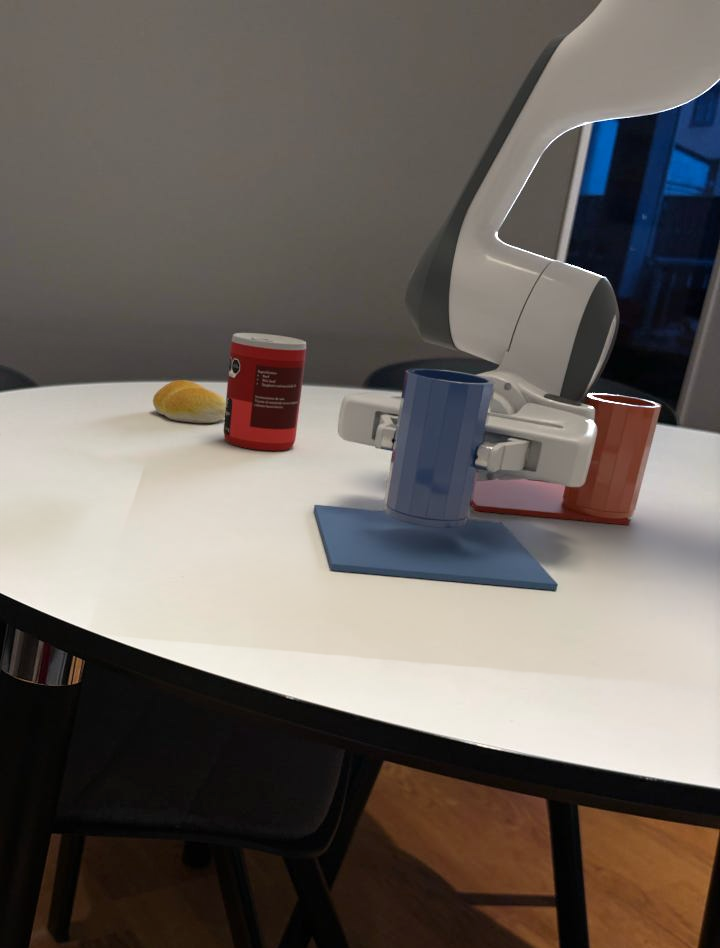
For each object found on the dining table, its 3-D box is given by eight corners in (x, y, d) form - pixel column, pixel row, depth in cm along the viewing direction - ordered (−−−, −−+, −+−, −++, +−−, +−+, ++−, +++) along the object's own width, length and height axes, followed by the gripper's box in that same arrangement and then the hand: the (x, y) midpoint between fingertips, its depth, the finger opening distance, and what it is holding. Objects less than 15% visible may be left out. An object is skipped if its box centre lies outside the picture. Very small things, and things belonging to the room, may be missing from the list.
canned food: (244, 432, 114) (254, 331, 110) (307, 445, 111) (320, 341, 106) (208, 441, 108) (217, 334, 104) (274, 455, 104) (286, 345, 100)
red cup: (618, 503, 97) (644, 397, 93) (644, 521, 91) (673, 409, 87) (553, 497, 96) (576, 390, 93) (574, 515, 91) (600, 402, 87)
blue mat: (500, 527, 86) (501, 521, 86) (556, 590, 71) (558, 584, 71) (313, 510, 85) (314, 504, 85) (330, 570, 70) (331, 563, 70)
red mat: (573, 483, 106) (574, 478, 106) (628, 525, 91) (630, 519, 91) (441, 470, 105) (442, 465, 105) (475, 510, 91) (476, 505, 90)
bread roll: (178, 425, 114) (181, 389, 113) (143, 410, 121) (145, 375, 120) (240, 424, 118) (244, 389, 117) (203, 409, 125) (205, 376, 124)
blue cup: (457, 508, 80) (483, 374, 76) (475, 531, 75) (504, 387, 71) (378, 500, 80) (400, 365, 76) (389, 523, 74) (414, 377, 70)
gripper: (377, 369, 89) (312, 382, 78) (616, 410, 81) (582, 431, 69) (367, 440, 92) (302, 463, 80) (597, 487, 83) (561, 520, 72)
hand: (434, 448), depth 75 cm, fingers closed on blue cup, 6 cm apart
